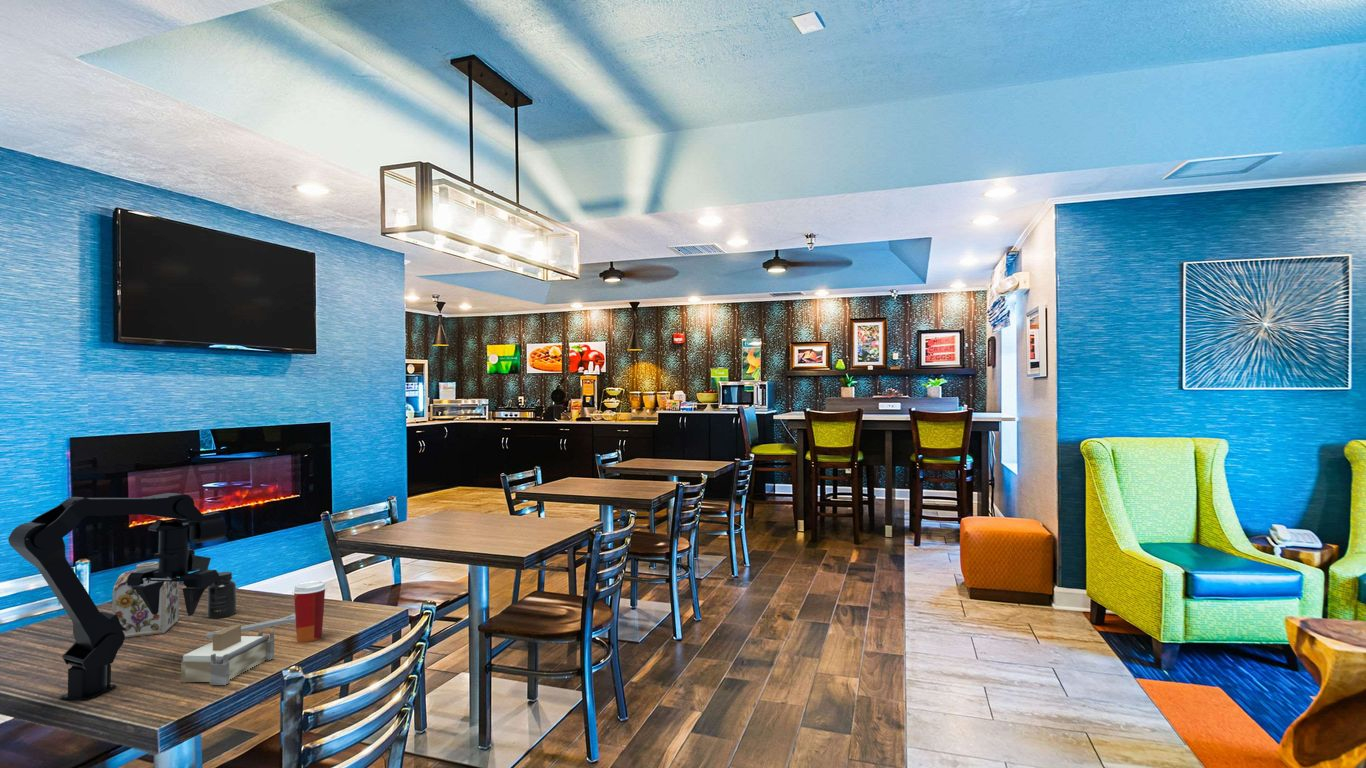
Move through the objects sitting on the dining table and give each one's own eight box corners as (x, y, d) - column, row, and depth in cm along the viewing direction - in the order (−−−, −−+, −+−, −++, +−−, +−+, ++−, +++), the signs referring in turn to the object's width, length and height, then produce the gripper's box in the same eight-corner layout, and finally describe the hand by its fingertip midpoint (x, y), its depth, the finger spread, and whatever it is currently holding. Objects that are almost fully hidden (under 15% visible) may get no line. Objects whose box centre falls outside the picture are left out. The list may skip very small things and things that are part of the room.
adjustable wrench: (206, 641, 172) (206, 635, 172) (206, 634, 178) (206, 628, 178) (315, 621, 187) (315, 615, 187) (312, 615, 192) (312, 609, 192)
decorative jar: (164, 634, 177) (165, 566, 177) (110, 640, 172) (111, 570, 173) (179, 620, 188) (180, 556, 188) (128, 626, 184) (129, 560, 184)
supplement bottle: (212, 612, 194) (212, 571, 195) (239, 610, 197) (239, 569, 197) (203, 620, 188) (203, 577, 188) (231, 617, 190) (231, 575, 190)
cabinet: (229, 657, 160) (230, 630, 160) (273, 658, 159) (274, 631, 159) (176, 684, 145) (177, 654, 145) (225, 685, 144) (225, 655, 144)
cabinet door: (229, 638, 160) (230, 618, 160) (269, 639, 159) (269, 619, 159) (178, 663, 145) (178, 640, 145) (221, 664, 144) (221, 641, 144)
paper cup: (318, 631, 178) (319, 578, 178) (331, 637, 173) (331, 583, 173) (286, 639, 172) (287, 585, 172) (298, 646, 167) (299, 590, 167)
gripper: (237, 541, 163) (236, 605, 162) (168, 539, 165) (167, 603, 164) (199, 550, 151) (198, 620, 151) (125, 549, 154) (124, 617, 153)
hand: (172, 614), depth 155 cm, fingers open, 9 cm apart
